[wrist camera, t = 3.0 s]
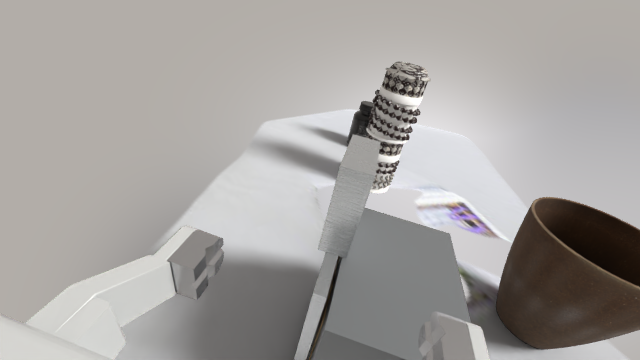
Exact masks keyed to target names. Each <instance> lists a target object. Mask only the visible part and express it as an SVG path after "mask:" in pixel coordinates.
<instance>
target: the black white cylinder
mask: <svg viewBox="0 0 640 360" xmlns="http://www.w3.org/2000/svg"><path fill="white" fill-rule="evenodd" d="M386 70H387V71H386V74H385V78H384V81H383V84H382V86H381V88H380V90H377V91H376V92H375V94H376V96H375V98H374V99H373V102H374V106H373V107H372V109H371V113H372V114H371V115H370V117H369V118H368V119H369V124H368V126H367V129H366V130H367V132H368V133H367V137H366V138H368V139H372V140H376V141H379V142H381V143H380V150H379V156H378V163H377V169H376V176H375V179H374V182H373V184H372V187H371V190H370V192H371V193H384V192H386V191H387V190H388V188H389V185H390V182H392V181H391V180H392V179H393V176H394V174H393V172H395V171H396V169H397V167H396V166H398V163H399V160H398V159H399V156H400V154H401V149H402V146H403V144H404V143H406V142H407V140H409V135H408V134H407V133H411V132H412V128H411V127H410V124H411V123H412V124H414V123H416V122H417V119H416V118H415V117H413V116H417V115H420V111H419V110H418V109H417V106H418V105H420V103H421V100H422V98H423V96H422V95H423V92H424V90H425V88H426V85H427V82H428V81H430V79H429V78H428V75H427V70H426V69H425V68H423V67H420V66H417V65H414V64H410V63H406V62H396V63H394V64H393V65H392V66H391V67H390V68H387V69H386ZM379 94H380V95H379ZM377 100H378V101H377Z"/></svg>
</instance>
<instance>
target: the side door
mask: <svg viewBox="0 0 640 360" xmlns="http://www.w3.org/2000/svg"><path fill="white" fill-rule="evenodd" d="M380 143H381V142H379V141H376V140H372V139H368V138H365V137H361V136H358V135H354V134H353V135H352V138H351V140H350V143H349V145H348V147H347V150H346V152H345V155H344V157H343V160H342V162H341V164H340V168H339V171H338V175H337V179H336V183H335V186H334V190H333V194H332V198H331V202H330V206H329V209H328V213H327V217H326V220H325V224H324V228H323V232H322V235H321V239H320V243H319V247H318V250H321V251H324V252H326V254H325V257H324V260H323V263H322V266H321V269H320V273H319V276H318V279H317V282H316V285H315V288H314V291H313V295H312V298H311V302H310V305H309V309H308V312H307V316H306V319H305V323H304V326H303V330H302V333H301V337H300V340H299V343H298V347H297V350H296V354H295V357H294V360H306V358H307V355H308V352H309V349H310V346H311V343H312V340H313V337H314V334H315V332H316V329H317V326H318V323H319V320H320V317H321V314H322V311H323V308H324V305H325V302H326V299H327V295H328V292H329V288H330V284H331V280H332V276H333V272H334V269H335V265H336V261H337V257H338V256H340V257H343V258H347V255H348V252H349V249H350V246H351V244H352V241H353V238H354V235H355V232H356V229H357V227H358V224H359V221H360V218H361V215H362V213H363V210H364V207H365V204H366V201H367V198H368V196H369V193H370V190H371V187H372V184H373V182H374V179H375V176H376V169H377V163H378V156H379V150H380Z"/></svg>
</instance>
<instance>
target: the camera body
mask: <svg viewBox="0 0 640 360" xmlns="http://www.w3.org/2000/svg"><path fill="white" fill-rule="evenodd" d="M435 311H437V312H440V313H443V314H446V315H449V316H452V317H455V318H458V319H461V320H463V321H466V322H469V323H471V320H470V316H469V312H468V308H467V303H466V299H465V295H464V291H463V287H462V283H461V278H460V274H459V270H458V266H457V262H456V258H455V254H454V249H453V245H452V241H451V237H450V234H449V233H445V232H442V231H439V230H436V229H433V228H429V227H426V226H423V225H420V224H416V223H413V222H410V221H406V220H403V219H400V218H397V217H393V216H390V215H387V214H384V213H380V212H377V211H374V210H371V209H367V208H364V210H363V213H362V215H361V218H360V221H359V224H358V227H357V229H356V232H355V235H354V238H353V241H352V244H351V246H350V249H349V252H348V255H347V258H343V257H340V256H338V258H337V261H336V265H335V269H334V272H333V276H332V280H331V284H330V288H329V292H328V295H327V299H326V302H325V305H324V308H323V311H322V314H321V317H320V320H319V323H318V326H317V330H316V334H315V337H314V341H313V345H312V348H311V352H310V356H309V360H421V359H422V358H423V356H422V354H421V352H420V351H419V348H418V339H419V333H420V329H421V327H422V325H423V324H424V323H425V322H428V321H430V315H431V314H432V313H433V312H435Z"/></svg>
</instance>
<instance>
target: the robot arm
mask: <svg viewBox="0 0 640 360" xmlns="http://www.w3.org/2000/svg"><path fill="white" fill-rule="evenodd" d="M222 246H223V238H220V237H217V236H215V235H212V234H209V233H207V232H204V231H201V230H199V229H196V228H193V227H190V226H187V225H185V226H183V227H182V228H180V229H179V230H178V231H177V232H176V233H175V234H174V235H173V236H172V237H171V238H170V239H169V240H168V241H167V242H166V243H165V244H164V245H163V246H162V247H161V248H160V249H159V250H158V251H157V252H156V253H155V254H154V255H153V256H151V255H147V256H144V257H142V258H139V259H137V260H134V261H132V262H129V263H127V264H124V265H122V266H119V267H116V268H114V269H111V270H108V271H106V272H103V273H101V274H98V275H96V276H93V277H90V278H88V279H85V280H83V281H80V282H78V283H75V284H72V285H70V286H69V287H68V288H67V289H65V290H64V291H63V292H62V293H61V294H59V295H58V296H57V297H56V298H55V299H53V300H52V301H51V302H50V303H49V304H47V305H46V306H45V307H44V308H43V309H41V310H40V311H39V312H38V313H37V314H35V315H34V316H33V317H32V318H31V319H29V320H28V321H27V322H26V323H23V322H20V321H18V320H15V319H13V318H10V317H8V316H6V315H3V314H1V313H0V360H113V359H114V358H115V357H116V356H117V354H118V353H119V352H120V351H121V349H122V348H123V347H124V346H125V344H126V337H125V335H124V333H123V331H122V329H121V327H123V326H124V325H126V324H128V323H129V322H131V321H133V320H134V319H136V318H138V317H139V316H141V315H143V314H144V313H146V312H148V311H149V310H151V309H153V308H154V307H156V306H158V305H159V304H161V303H163V302H164V301H166V300H168V299H169V298H171V297H173V296H174V295H176V293H177V294H180V295H183V296H186V297H189V298H192V299H195V300H198V298H199V297H200V296H201V294H202V293H203V291H204V290H205V289H206V287H207V286H208V278H210V277H212V276H214V275H215V274H216V273H217V271H218V270H219V268H220V266H221V264H222V261H223V257H224V252H223V251H222V249H221V247H222ZM418 348H419V351H420V352H421V354H422V356H423V358H422V359H421V360H490V358H489V354H488V350H487V346H486V342H485V338H484V334H483V330H482V329H481V327H480V326H478V325H475V324H472V323H469V322H466V321H463V320H461V319H458V318H455V317H452V316H449V315H446V314H443V313H440V312H437V311H435V312H433V313H432V314H431V315H430V321H428V322H425V323H424V324H423V325H422V327H421V329H420V333H419V339H418Z"/></svg>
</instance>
